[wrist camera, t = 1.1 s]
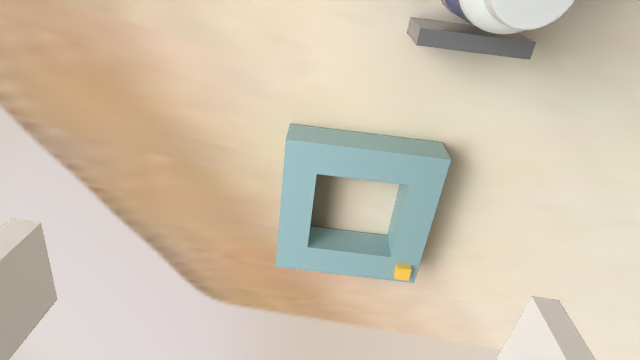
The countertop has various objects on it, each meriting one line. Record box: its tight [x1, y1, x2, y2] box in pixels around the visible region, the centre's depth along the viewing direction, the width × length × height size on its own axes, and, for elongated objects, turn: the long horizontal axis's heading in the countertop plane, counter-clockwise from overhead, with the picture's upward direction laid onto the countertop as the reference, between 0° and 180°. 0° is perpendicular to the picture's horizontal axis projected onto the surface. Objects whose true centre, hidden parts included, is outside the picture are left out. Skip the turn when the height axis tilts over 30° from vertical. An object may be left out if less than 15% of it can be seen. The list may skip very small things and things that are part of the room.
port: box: [276, 124, 451, 283], centre depth 34 cm, size 12×12×4 cm
